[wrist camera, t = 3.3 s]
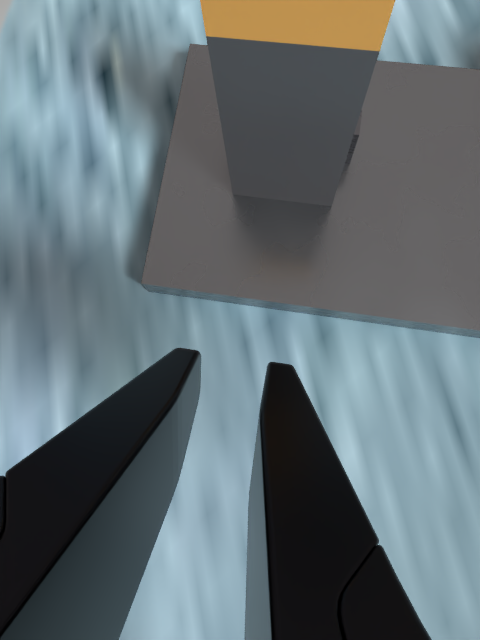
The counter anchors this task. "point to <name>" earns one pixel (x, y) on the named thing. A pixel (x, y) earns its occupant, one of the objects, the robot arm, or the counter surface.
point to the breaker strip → (335, 211)
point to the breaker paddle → (291, 89)
